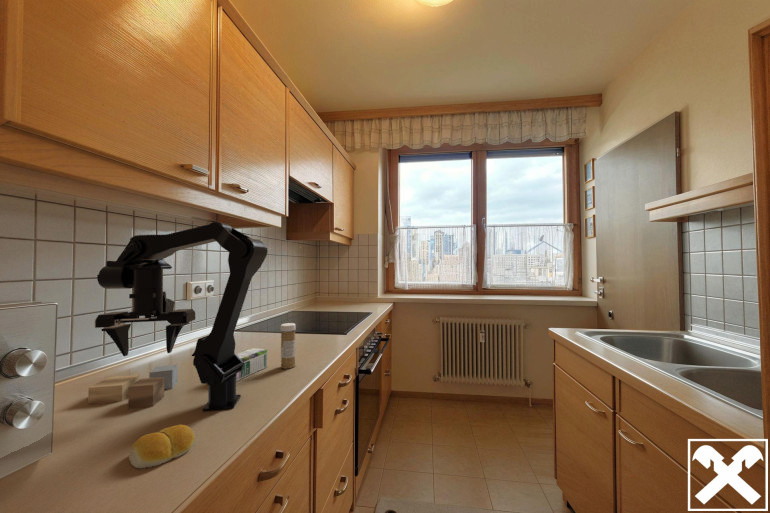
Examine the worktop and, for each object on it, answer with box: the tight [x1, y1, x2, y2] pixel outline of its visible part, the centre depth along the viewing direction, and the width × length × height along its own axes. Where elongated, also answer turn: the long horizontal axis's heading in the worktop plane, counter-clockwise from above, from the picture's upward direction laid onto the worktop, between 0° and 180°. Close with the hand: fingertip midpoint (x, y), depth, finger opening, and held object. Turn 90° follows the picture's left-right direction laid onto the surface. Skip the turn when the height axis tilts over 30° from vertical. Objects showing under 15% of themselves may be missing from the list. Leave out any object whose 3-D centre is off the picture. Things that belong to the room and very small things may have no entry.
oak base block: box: [87, 374, 141, 405], centre depth 77 cm, size 7×7×4 cm
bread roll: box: [128, 424, 196, 469], centre depth 53 cm, size 8×9×4 cm
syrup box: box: [221, 347, 268, 382], centre depth 91 cm, size 6×6×14 cm
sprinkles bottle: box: [280, 322, 296, 369], centre depth 97 cm, size 5×5×13 cm
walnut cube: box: [127, 377, 165, 410], centre depth 73 cm, size 5×5×5 cm
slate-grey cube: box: [148, 363, 179, 390], centre depth 82 cm, size 5×5×5 cm
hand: (147, 354), depth 73 cm, fingers open, 9 cm apart
